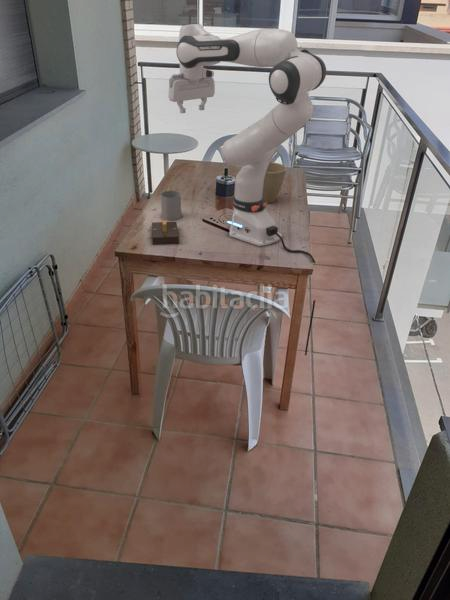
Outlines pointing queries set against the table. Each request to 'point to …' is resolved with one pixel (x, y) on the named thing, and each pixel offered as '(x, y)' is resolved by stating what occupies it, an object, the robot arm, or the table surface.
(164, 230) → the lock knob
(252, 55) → the robot arm
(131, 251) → the table surface
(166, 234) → the lock plate
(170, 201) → the cup
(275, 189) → the plant pot
